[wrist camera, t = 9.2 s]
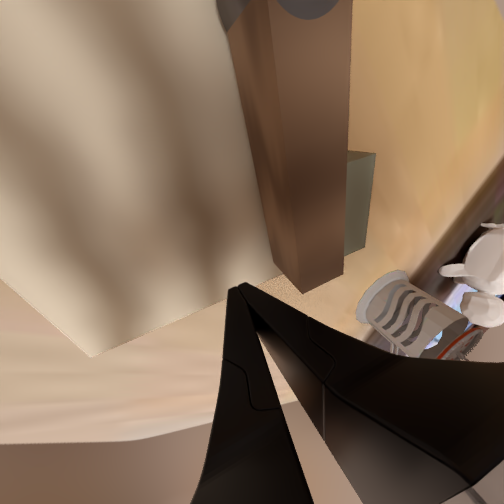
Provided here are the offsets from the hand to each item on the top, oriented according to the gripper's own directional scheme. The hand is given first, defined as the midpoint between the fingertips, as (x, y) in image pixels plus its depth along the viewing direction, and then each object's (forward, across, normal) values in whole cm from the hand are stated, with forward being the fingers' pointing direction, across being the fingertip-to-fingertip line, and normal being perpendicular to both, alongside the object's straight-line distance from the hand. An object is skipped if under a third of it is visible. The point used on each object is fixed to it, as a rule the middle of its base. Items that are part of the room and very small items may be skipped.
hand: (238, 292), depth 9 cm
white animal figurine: (+9, -38, +21) cm, 44 cm away
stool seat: (+8, +1, -3) cm, 9 cm away
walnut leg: (+6, -5, -4) cm, 9 cm away
